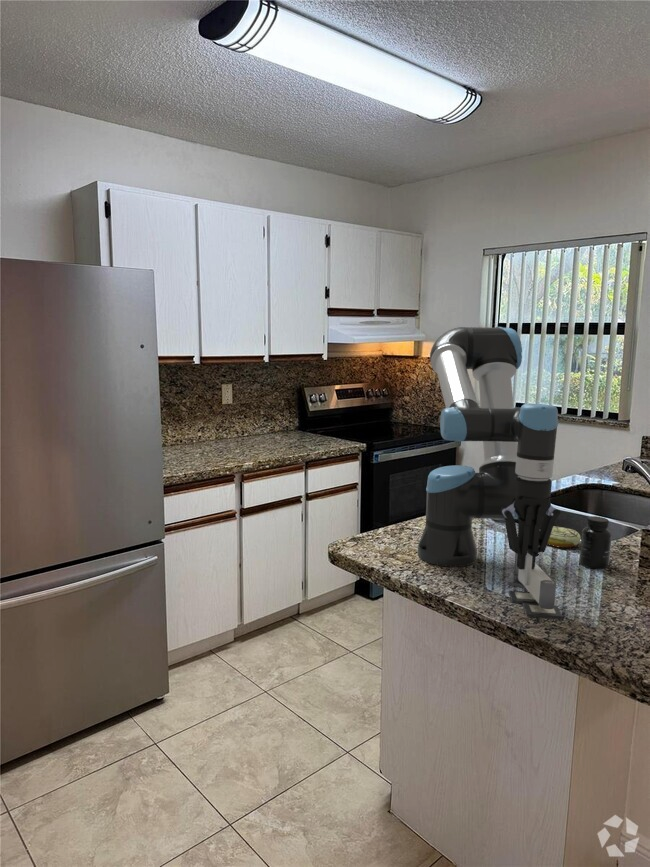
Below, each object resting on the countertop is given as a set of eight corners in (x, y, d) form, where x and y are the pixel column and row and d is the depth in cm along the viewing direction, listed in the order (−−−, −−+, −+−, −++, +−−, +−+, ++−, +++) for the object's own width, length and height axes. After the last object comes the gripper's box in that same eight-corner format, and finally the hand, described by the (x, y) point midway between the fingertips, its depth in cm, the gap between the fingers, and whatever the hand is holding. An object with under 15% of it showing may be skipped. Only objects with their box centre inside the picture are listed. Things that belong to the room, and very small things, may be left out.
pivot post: (506, 584, 139) (509, 547, 138) (511, 577, 144) (513, 540, 142) (529, 589, 137) (531, 551, 136) (533, 581, 141) (535, 544, 140)
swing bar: (517, 578, 138) (518, 557, 137) (530, 578, 138) (531, 557, 137) (541, 609, 123) (543, 586, 122) (556, 609, 123) (558, 586, 122)
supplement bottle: (611, 571, 148) (616, 524, 146) (582, 568, 149) (586, 522, 147) (605, 560, 155) (609, 515, 153) (576, 558, 156) (580, 513, 154)
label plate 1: (512, 602, 130) (512, 599, 130) (508, 592, 135) (508, 589, 135) (545, 605, 129) (546, 602, 129) (541, 595, 134) (541, 592, 134)
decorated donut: (584, 550, 162) (586, 537, 162) (543, 548, 164) (544, 535, 163) (573, 537, 173) (575, 525, 172) (535, 535, 174) (536, 523, 173)
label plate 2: (526, 616, 124) (527, 613, 124) (522, 605, 129) (522, 602, 129) (562, 619, 123) (562, 615, 123) (557, 608, 128) (557, 605, 128)
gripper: (513, 481, 123) (504, 591, 127) (570, 480, 125) (560, 588, 129) (497, 473, 131) (489, 577, 134) (551, 473, 133) (542, 575, 136)
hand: (524, 582), depth 132 cm, fingers closed
